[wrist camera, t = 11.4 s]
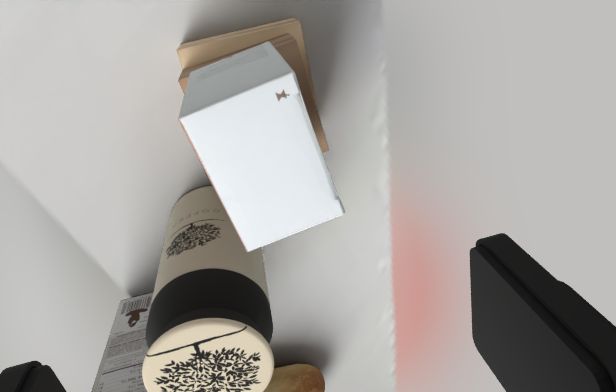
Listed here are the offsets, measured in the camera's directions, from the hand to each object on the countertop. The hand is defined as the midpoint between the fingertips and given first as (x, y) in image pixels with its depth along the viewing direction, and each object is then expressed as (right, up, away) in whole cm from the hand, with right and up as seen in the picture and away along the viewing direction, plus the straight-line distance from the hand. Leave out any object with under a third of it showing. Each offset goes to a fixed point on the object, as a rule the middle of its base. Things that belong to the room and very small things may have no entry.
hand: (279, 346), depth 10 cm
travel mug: (-8, +1, +32) cm, 33 cm away
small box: (-3, +9, +21) cm, 23 cm away
